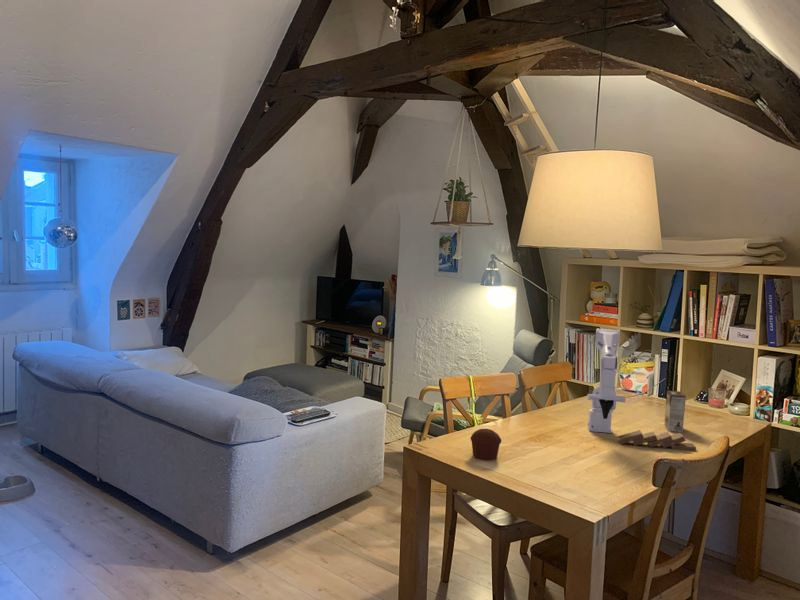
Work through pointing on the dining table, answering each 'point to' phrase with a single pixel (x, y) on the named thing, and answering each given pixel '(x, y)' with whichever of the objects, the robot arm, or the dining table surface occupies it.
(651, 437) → the domino
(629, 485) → the dining table surface
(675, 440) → the domino
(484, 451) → the muffin
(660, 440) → the domino
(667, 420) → the coffee box
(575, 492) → the dining table surface
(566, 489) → the dining table surface
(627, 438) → the domino
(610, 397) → the robot arm
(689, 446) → the domino
